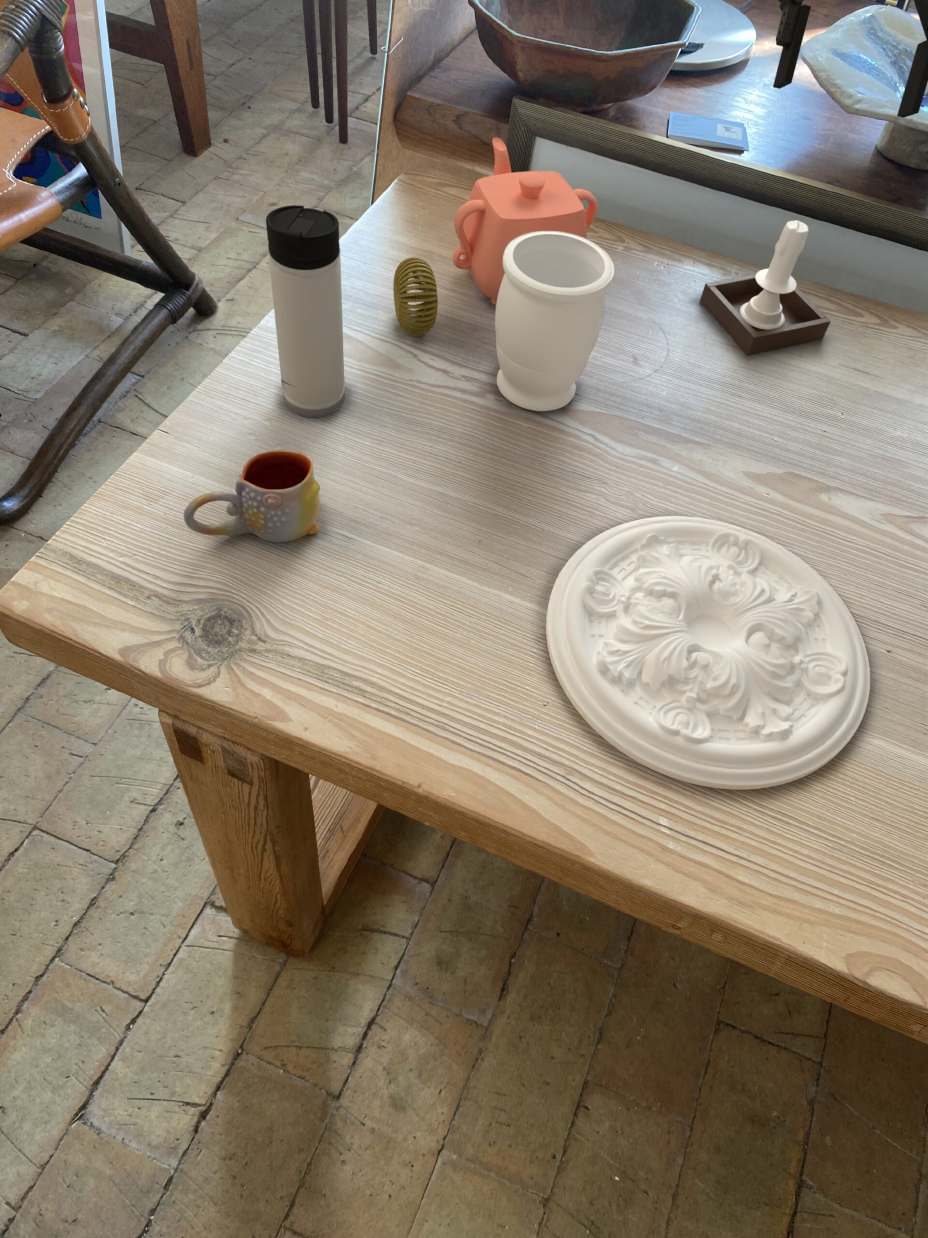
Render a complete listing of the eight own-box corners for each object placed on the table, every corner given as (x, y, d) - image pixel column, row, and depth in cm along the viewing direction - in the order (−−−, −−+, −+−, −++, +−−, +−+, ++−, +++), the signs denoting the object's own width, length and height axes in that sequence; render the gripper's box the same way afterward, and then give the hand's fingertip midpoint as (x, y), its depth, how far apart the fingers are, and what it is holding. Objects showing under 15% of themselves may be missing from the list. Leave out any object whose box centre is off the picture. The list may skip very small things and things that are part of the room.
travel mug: (272, 412, 92) (251, 227, 76) (295, 372, 96) (280, 188, 79) (332, 426, 91) (323, 243, 75) (352, 385, 95) (348, 202, 79)
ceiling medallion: (751, 493, 90) (762, 470, 88) (933, 726, 76) (953, 707, 73) (494, 563, 82) (498, 540, 80) (644, 838, 68) (654, 821, 65)
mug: (308, 485, 86) (304, 432, 81) (331, 537, 83) (328, 486, 77) (180, 515, 83) (167, 462, 77) (198, 570, 79) (185, 519, 74)
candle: (764, 336, 105) (804, 240, 95) (729, 312, 107) (765, 216, 98) (793, 320, 107) (835, 225, 98) (758, 297, 110) (796, 202, 100)
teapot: (550, 339, 102) (570, 234, 92) (423, 286, 106) (429, 181, 96) (604, 275, 111) (628, 173, 100) (485, 229, 114) (496, 126, 104)
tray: (822, 339, 107) (831, 321, 104) (747, 355, 103) (754, 337, 101) (772, 287, 112) (779, 268, 110) (699, 301, 109) (705, 282, 107)
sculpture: (389, 307, 103) (391, 242, 97) (424, 305, 104) (428, 240, 98) (402, 352, 99) (404, 287, 92) (438, 349, 100) (443, 285, 93)
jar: (601, 381, 99) (633, 256, 87) (555, 434, 93) (583, 308, 81) (517, 342, 101) (536, 216, 89) (468, 391, 96) (482, 263, 84)
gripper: (1009, -107, 89) (936, 132, 96) (772, -173, 85) (714, 80, 92) (1064, -141, 82) (981, 119, 89) (808, -215, 78) (742, 63, 85)
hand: (845, 100), depth 91 cm, fingers open, 13 cm apart
